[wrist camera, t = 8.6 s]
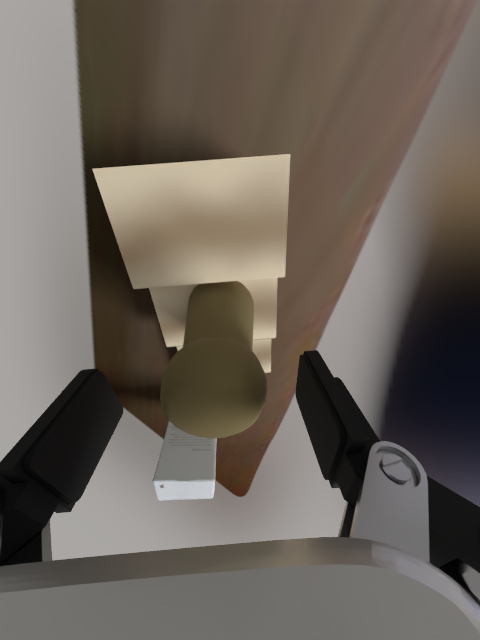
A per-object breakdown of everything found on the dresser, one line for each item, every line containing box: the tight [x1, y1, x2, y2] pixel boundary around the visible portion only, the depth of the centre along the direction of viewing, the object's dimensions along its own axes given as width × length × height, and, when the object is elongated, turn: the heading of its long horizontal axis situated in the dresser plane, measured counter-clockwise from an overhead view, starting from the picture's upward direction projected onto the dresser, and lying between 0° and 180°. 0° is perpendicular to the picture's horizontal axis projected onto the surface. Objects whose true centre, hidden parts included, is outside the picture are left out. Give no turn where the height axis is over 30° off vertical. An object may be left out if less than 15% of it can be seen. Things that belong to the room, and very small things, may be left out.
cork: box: [160, 281, 267, 438], centre depth 13 cm, size 6×6×11 cm
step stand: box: [92, 154, 290, 373], centre depth 19 cm, size 21×11×8 cm, turn 4°
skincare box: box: [153, 421, 217, 500], centre depth 25 cm, size 6×4×12 cm
